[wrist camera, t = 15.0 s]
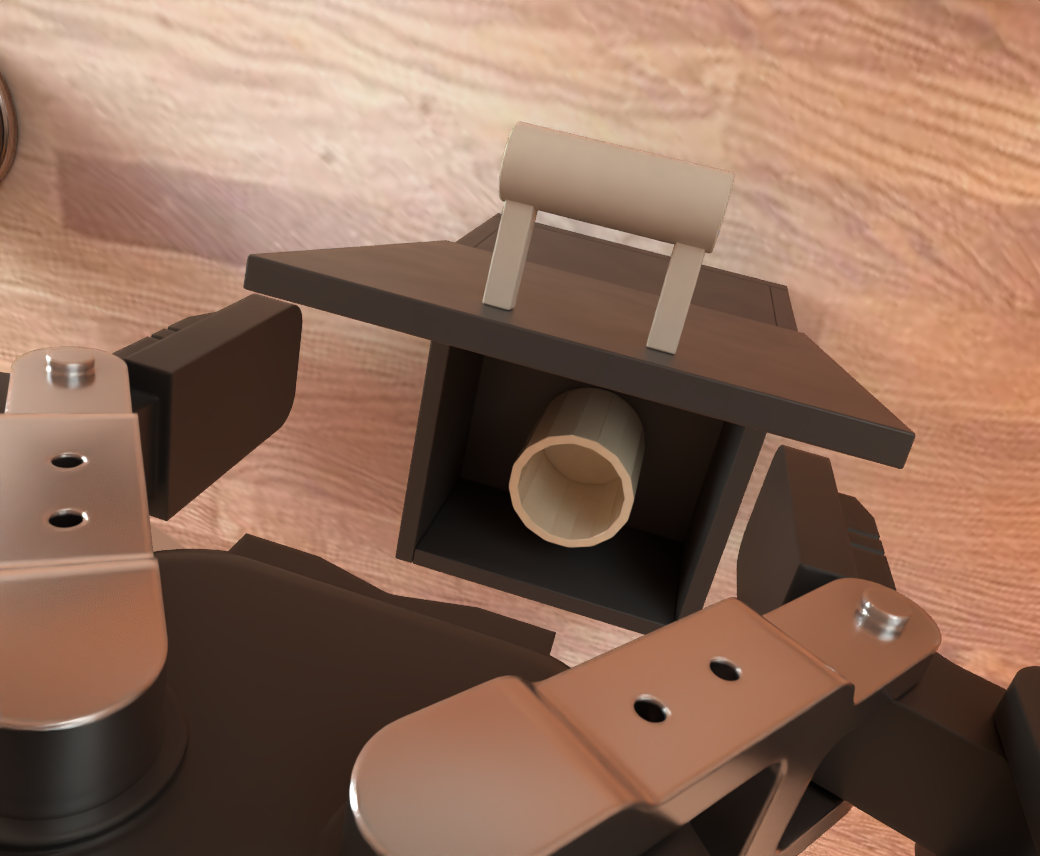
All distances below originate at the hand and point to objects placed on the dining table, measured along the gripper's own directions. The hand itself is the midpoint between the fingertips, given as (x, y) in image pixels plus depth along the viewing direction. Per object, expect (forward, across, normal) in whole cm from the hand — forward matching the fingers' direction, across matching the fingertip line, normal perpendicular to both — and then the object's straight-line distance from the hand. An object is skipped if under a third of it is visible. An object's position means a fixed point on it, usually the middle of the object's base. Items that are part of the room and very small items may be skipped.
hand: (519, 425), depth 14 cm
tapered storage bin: (+30, 0, +11) cm, 32 cm away
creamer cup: (+30, 0, +14) cm, 33 cm away
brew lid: (+13, 0, +2) cm, 13 cm away
